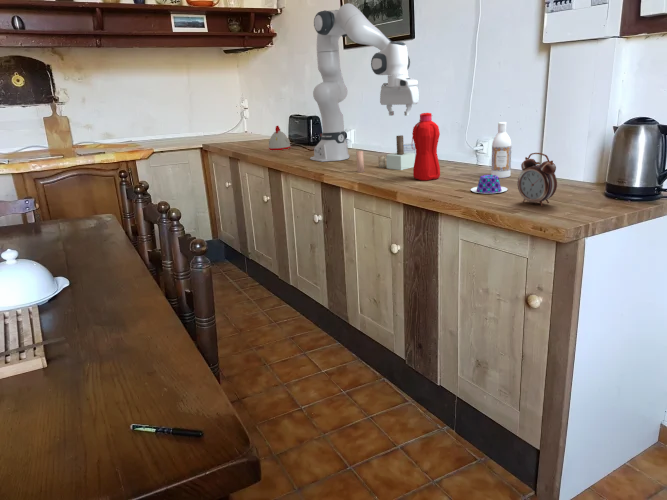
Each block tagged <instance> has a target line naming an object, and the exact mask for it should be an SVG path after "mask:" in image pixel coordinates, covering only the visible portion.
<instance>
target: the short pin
mask: <svg viewBox="0 0 667 500" xmlns="http://www.w3.org/2000/svg"><path fill="white" fill-rule="evenodd" d="M377 161H378V169H384V168H385V169H386V156H385V155H379V156H378V159H377Z"/></svg>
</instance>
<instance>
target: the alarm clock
mask: <svg viewBox="0 0 667 500" xmlns="http://www.w3.org/2000/svg"><path fill="white" fill-rule="evenodd" d="M533 155H541V156H544V157H545V158H546V160H545V161H543V162H541V163H540V161H536V160H535V159H534V158H530V157H531V156H533ZM553 162H554V160H550V158H549V156H548V155H547V154H545V153H541V152H533V153H530V154H529V155H528V156H525V158H524V160H523V161H522V163H521V164H520V165H521V166H520V167H521V172H520V173H519V176H518V178H517V189H518V192H519V194H520V196H521V197H522V198H523V201H522V203H523V204H524V203H525V201H527V202H529V203H540V205H541V207H544V204H543V202H545V201H546V202H547V204H549V203H550V202H549V199H550V198H551V197H553V196H554V195H555V193H556V191H557V188H558V180H557V176H556V174H555V173H556V170H557V166H556V164H555V163H553Z"/></svg>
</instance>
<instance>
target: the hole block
mask: <svg viewBox="0 0 667 500" xmlns="http://www.w3.org/2000/svg"><path fill="white" fill-rule="evenodd" d="M385 155H386V156H385V165H386V169H388V170H389V169H390V170H397V171H403V170H407V169H410V168H414V162H415V153H405V152H404V154H403V155H397V152H395V153H388V154H385Z"/></svg>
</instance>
